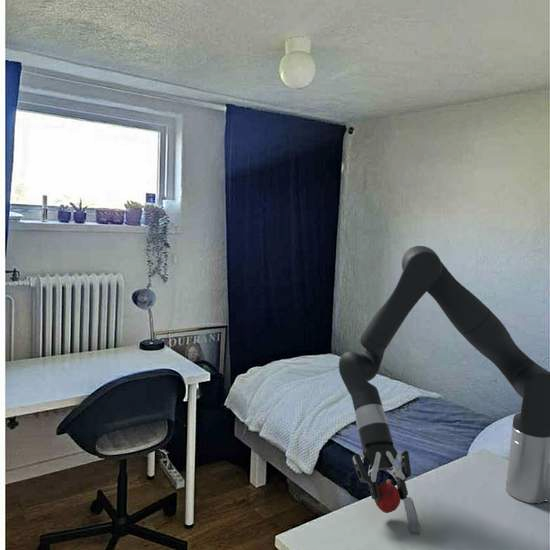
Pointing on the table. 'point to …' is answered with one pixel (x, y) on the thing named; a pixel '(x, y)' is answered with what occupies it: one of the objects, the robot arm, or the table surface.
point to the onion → (388, 497)
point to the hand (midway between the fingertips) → (391, 499)
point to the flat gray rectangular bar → (411, 516)
